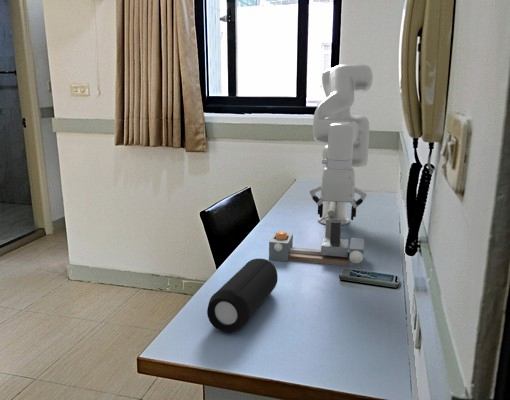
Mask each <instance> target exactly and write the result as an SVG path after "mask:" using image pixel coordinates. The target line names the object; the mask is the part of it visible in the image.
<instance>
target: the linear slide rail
mask: <svg viewBox="0 0 510 400" xmlns="http://www.w3.org/2000/svg"><path fill="white" fill-rule="evenodd" d="M276 232H277V231H274V233H273V235H272V236H271V238H270V240H269V241H268V261H280V262H288V261H289V260H288V255H289V253H290V248H291V247H294V246H293V244H294V243H293V242H294V240H293V239H294V233H293V232H291V233H290V232H287V240H278V239H276ZM364 242H365V239H364V238H357V237H356V238H355V237H351V238H350V243H349V244H350V245H349V252H350V255H349V266H348V267H349V268H356V269H363V262H364V248H365V247H364Z"/></svg>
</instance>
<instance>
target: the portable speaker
mask: <svg viewBox="0 0 510 400" xmlns="http://www.w3.org/2000/svg"><path fill="white" fill-rule="evenodd" d="M278 279H279V278H278V271H277V268H276V266H275V264H274V263H273V262H271V260H269V259H266V258H253V259H250V260H249V261H248V262H246V263H245V264H244V265H243V267H241V268H239V270H238V271H237V272H236V273H235V274H234V275H233V276H232V277H231V278H229V280H228V281H226V282H225V283H224V284H223V285H222V286H221V287H220V288H219V289H218V290H217V291H216V292H215V293H213V295H212V296H211V297H210V298H209V301H208V306H207V310H206V311H207V312H206V314H207V318H208V320H209V323H210V324H211V326H213V327H214V329H217V330H218V331H219V332H223V333H232V332H235V331H239V330H242V329H243V328H244V327H245V326H246V324H247V323H248V322H249V321H250V320H251V318H252V317H253V316H254V315H255V313H256V312H257V311H258V310H259V308H260V307H261V306H262V305H263V303H264V302H265V301H266V300H267V298H268V297H269V296H270V294H271V293H272V292H273V291H274V289H275V288H276V286H277V284H278Z"/></svg>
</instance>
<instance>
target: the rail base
mask: <svg viewBox="0 0 510 400" xmlns="http://www.w3.org/2000/svg"><path fill="white" fill-rule="evenodd" d="M349 255H350V251H348V253H347V257H340V256H329V255H321V249H318V248H317V249H316V248H308V247H307V248H305V247H294V246H293V247H291V248H290V253H289V255H288V261H293V262H305V263H313V264H325V265H326V264H327V265H337V266H348V267H349Z"/></svg>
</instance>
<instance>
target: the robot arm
mask: <svg viewBox="0 0 510 400" xmlns="http://www.w3.org/2000/svg"><path fill="white" fill-rule="evenodd" d="M373 77H374V76H373V71H372V68H371V67H370V66H369V65H367V64H338V65H335V66H334V67H330V68H327V69H325V70H323V71H322V73H321V81H322V87H323V92H324V94H325V97H326V98H324V99H323V100H322V101H321V102H320V103H319V105H317V107H316V109H315V111H314V115H313V119H312V120H313V122H312V137H313V139H314V141H315V142H317V143H318V144H326V145H325V146H324V147H323V149H322V152H321V153H322V154H321V155H322V159H321V164H322V165H323V171H322V177H321V185H319V186H316V187H314V188H312V189H310V190H309V194H310V196H311V198H312V200H313V201H314V202H315V204H316V205H317V215H319V216H318V217H317V221H318V222H319V221H320V220H321V218H322V217H323V216H324V214H325V213H326V212H327V211H328V206H329V201H331V202H337V217H336V220H341V226H345V225H348V224H350V220H351V221H354V218H356V217H357V208H358V207H359V206H360V205H361V204H363V201H365V199H366V198H367V193H366V192H365V191H363V190H362V189H359V188H358V187H356V176H355V169H364V168H365V167H366V166H367V164H368V161H369V145H370V144H369V143H370V121H369V119H368V117H366V116H365V115H360V114H359V115H357V114H355V115H354V114H351V107H352V106H353V105H354V102H355V92H357V93H358V92H359V93H361V92H363V93H364V92H368V91H369V90H370V89H371V87H372V84H373ZM355 142H356V143H355ZM318 192H320V198H319V197H318V195H316V193H318ZM355 193H356V194H357V195H359V196H360V197H359V198H358V199H357V200H356V199H355V196H356V194H355ZM347 203H349V204H351V213H350V218H349V217H348V216H347ZM327 213H328V212H327ZM338 216H339V217H338ZM325 217H327V214H326V215H325V216H324V218H325ZM319 223H320V224H323V225H326V219H324V220H322V221H321V222H319Z"/></svg>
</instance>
